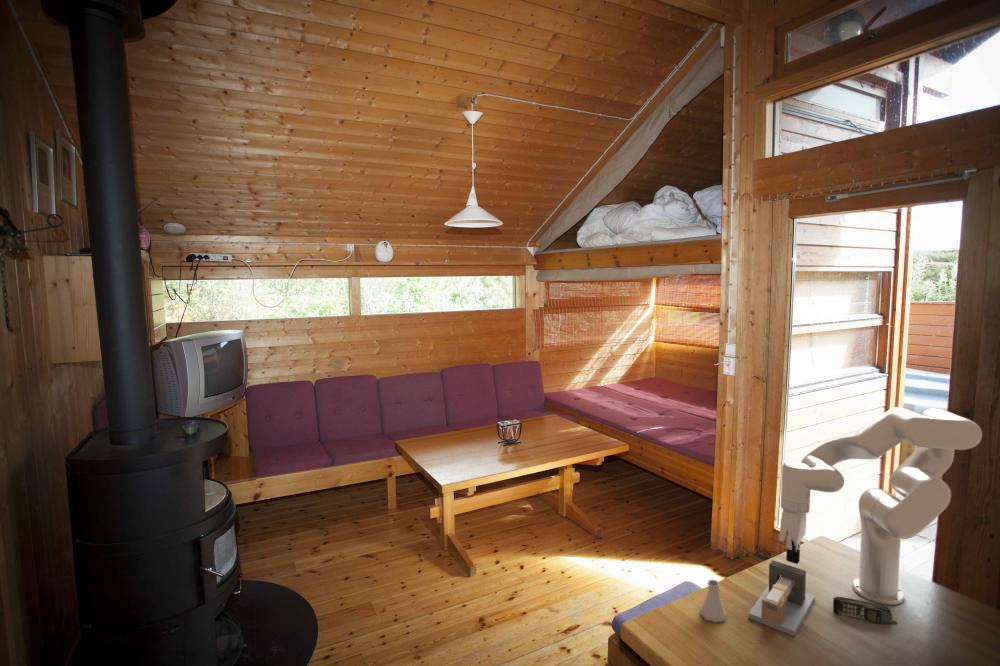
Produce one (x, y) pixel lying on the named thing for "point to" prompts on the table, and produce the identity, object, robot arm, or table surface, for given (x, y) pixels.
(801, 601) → the collar
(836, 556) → the table surface
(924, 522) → the robot arm
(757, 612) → the pipe stand
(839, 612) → the mobile phone
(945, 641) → the table surface
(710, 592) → the flask
